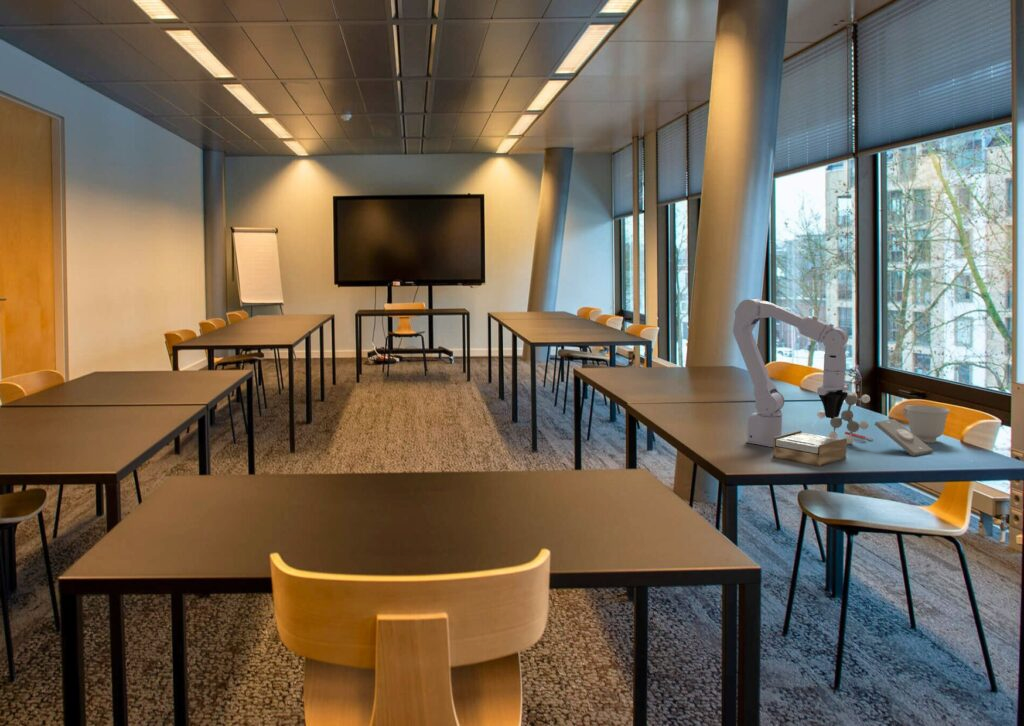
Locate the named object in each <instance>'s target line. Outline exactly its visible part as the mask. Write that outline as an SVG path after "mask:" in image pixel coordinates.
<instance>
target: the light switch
mask: <svg viewBox="0 0 1024 726" xmlns="http://www.w3.org/2000/svg"><path fill="white" fill-rule="evenodd" d="M874 426H875V427H877V429H879V430H880V431H882V433H884V434H885V435H886V436H887V437H888V438H890V439H892V441H893V442H895V443H896V444H897V445H898V446H899V447H901V448H902V449H903V450H904V451H906V452H907V453H908V454H909V455H910V456H912V457H916V456H915V455H917V456H922V455H921V454H923V455H927V453H928V454H932V453H933V450H934V449H933V448H932V447H930V446H929V445H928V444H926V442H923V441H921V440H920V439H919V438H918V437H916V436H915V435H914V434H913V433H911V431H910V429H908V428H906V427H905V426H904V425H902V423H900V422H899V421H898V420H896V419H895V418H893V419H887V420H879V421H876V422H874Z"/></svg>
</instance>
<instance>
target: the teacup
mask: <svg viewBox="0 0 1024 726" xmlns="http://www.w3.org/2000/svg"><path fill="white" fill-rule="evenodd" d="M950 412H951V410H950V409H949V408H946V407H943V406H937V405H927V404H925V405H924V404H915V405H912V404H911V405H909V404H906V405H905V406H904V407H903V409H902V413H903V416H904V419H906V420H907V421H908V426H909V431H910V432H911V433H913V434H914V435H915V436H916V437H918V438H919V439H920V440H921V441H923V442H924V443H925V444H926V443H929V444H930V443H931V444H932V443H936V442H937V438H939V437H941V436H942V435H943V434H944V432H945V427H946V421H947V417H948V414H949V413H950Z"/></svg>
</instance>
